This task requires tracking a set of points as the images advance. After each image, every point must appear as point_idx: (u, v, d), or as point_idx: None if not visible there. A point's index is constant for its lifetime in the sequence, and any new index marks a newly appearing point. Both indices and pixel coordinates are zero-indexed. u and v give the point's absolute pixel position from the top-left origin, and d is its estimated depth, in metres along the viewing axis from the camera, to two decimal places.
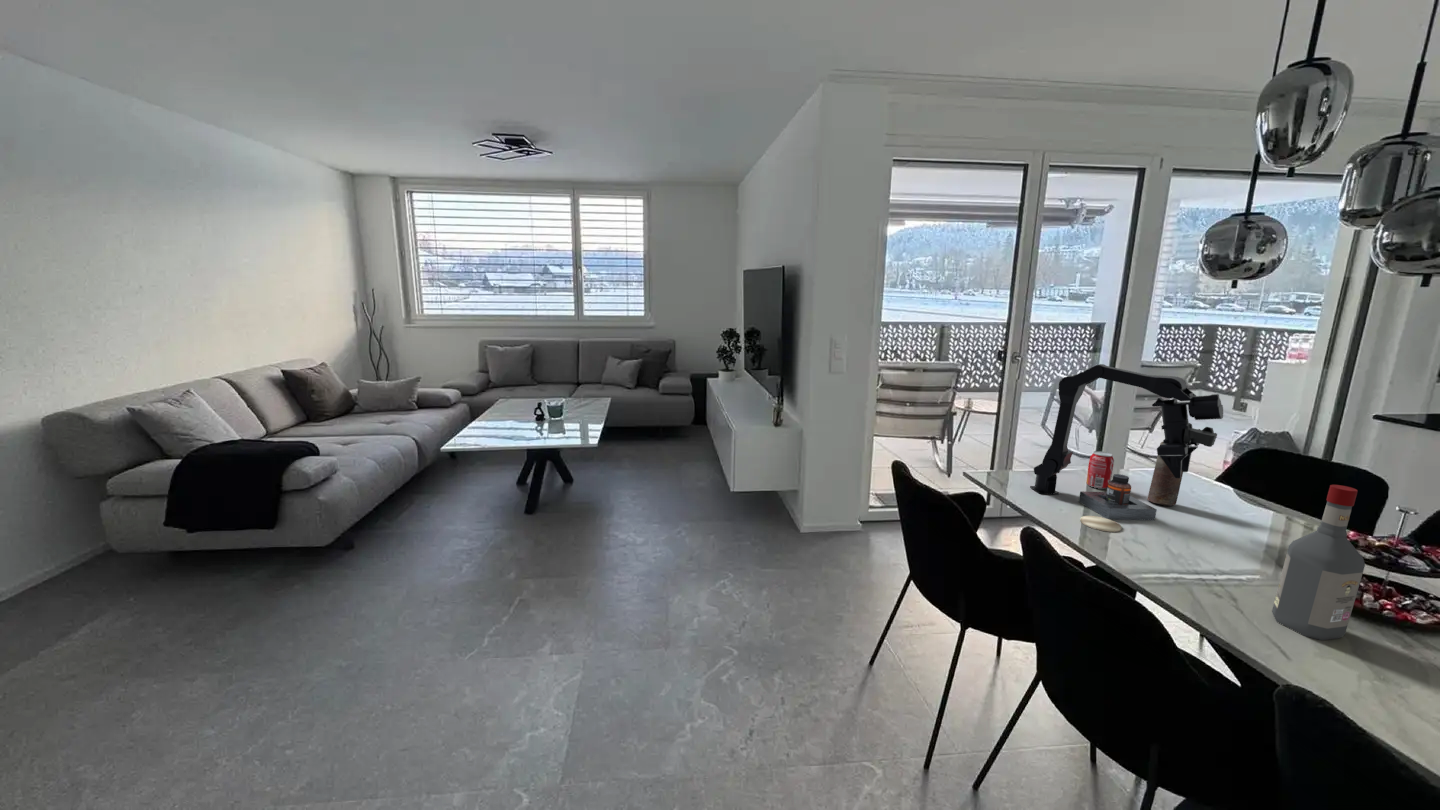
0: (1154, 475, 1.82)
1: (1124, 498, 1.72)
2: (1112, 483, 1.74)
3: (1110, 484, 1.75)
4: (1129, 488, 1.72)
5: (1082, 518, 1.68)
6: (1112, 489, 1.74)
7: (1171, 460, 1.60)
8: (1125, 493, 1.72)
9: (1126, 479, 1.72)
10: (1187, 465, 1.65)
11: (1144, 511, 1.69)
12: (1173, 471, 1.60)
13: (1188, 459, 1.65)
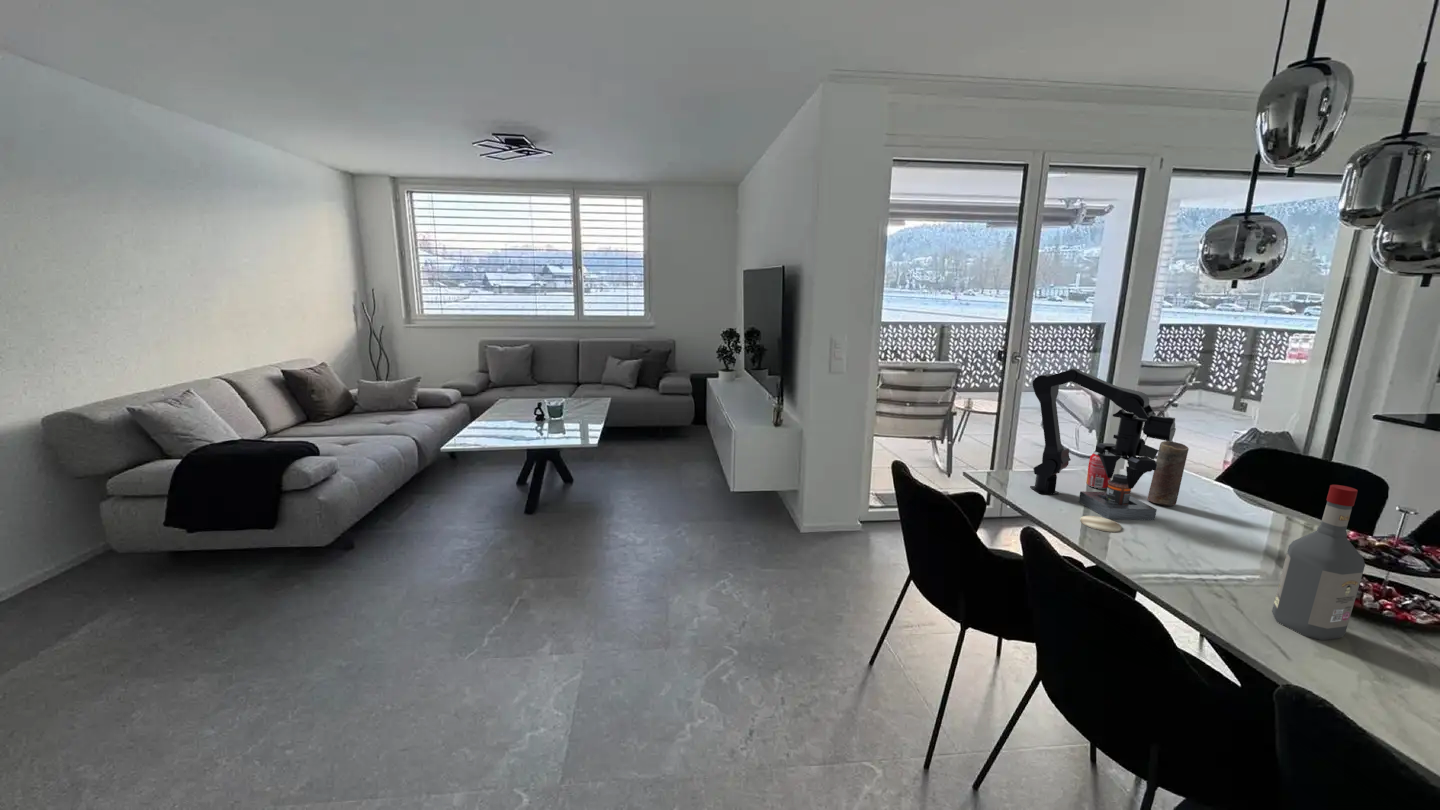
0: (1154, 475, 1.82)
1: (1124, 498, 1.72)
2: (1112, 483, 1.74)
3: (1110, 484, 1.75)
4: (1129, 488, 1.72)
5: (1082, 518, 1.68)
6: (1112, 489, 1.74)
7: (1134, 473, 1.68)
8: (1125, 493, 1.72)
9: (1126, 479, 1.72)
10: (1113, 472, 1.79)
11: (1144, 511, 1.69)
12: (1131, 482, 1.69)
13: (1114, 466, 1.78)
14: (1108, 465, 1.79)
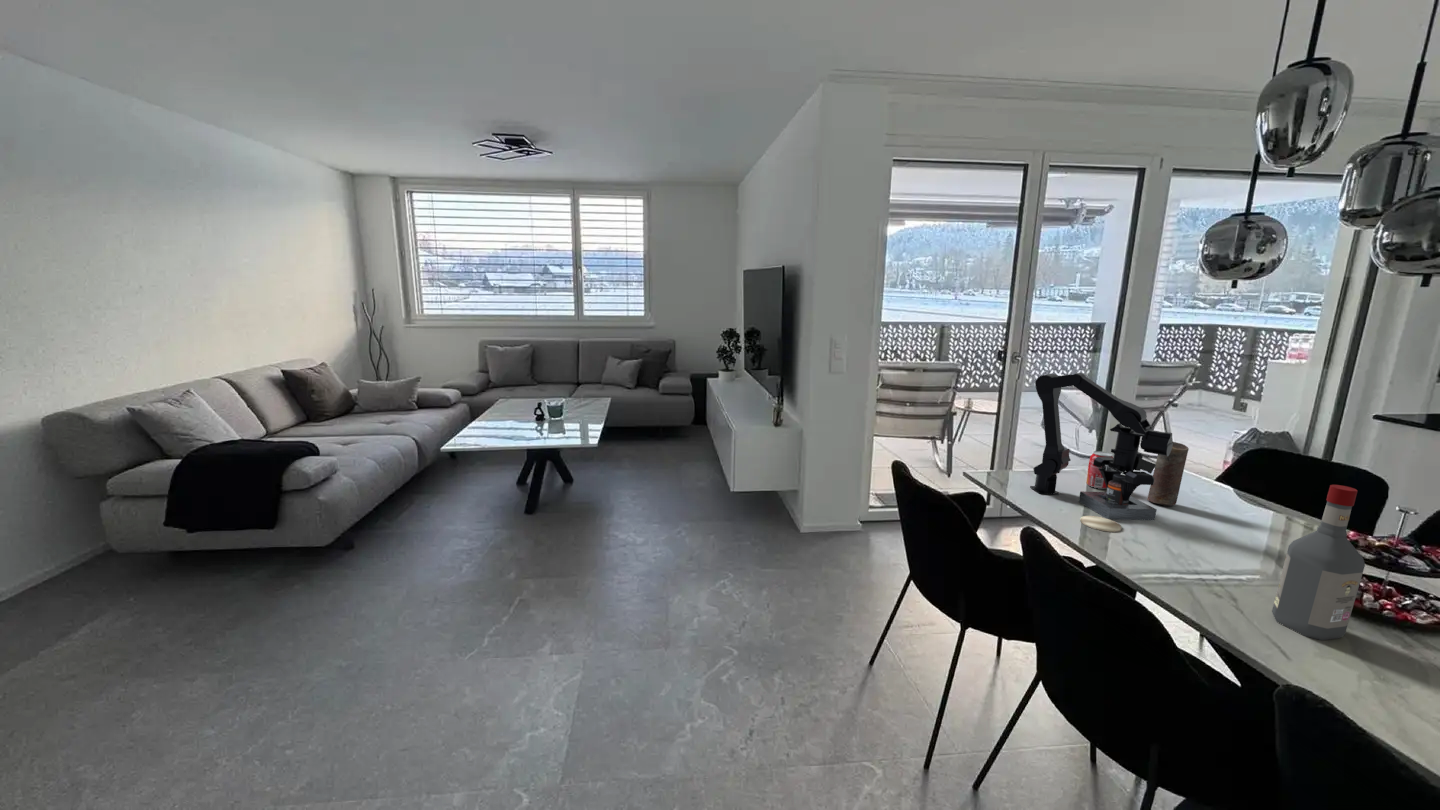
0: (1154, 475, 1.82)
1: None
2: (1112, 483, 1.74)
3: (1110, 484, 1.75)
4: None
5: (1082, 518, 1.68)
6: (1112, 489, 1.74)
7: (1128, 485, 1.70)
8: None
9: None
10: None
11: (1144, 511, 1.69)
12: (1125, 495, 1.71)
13: None
14: None
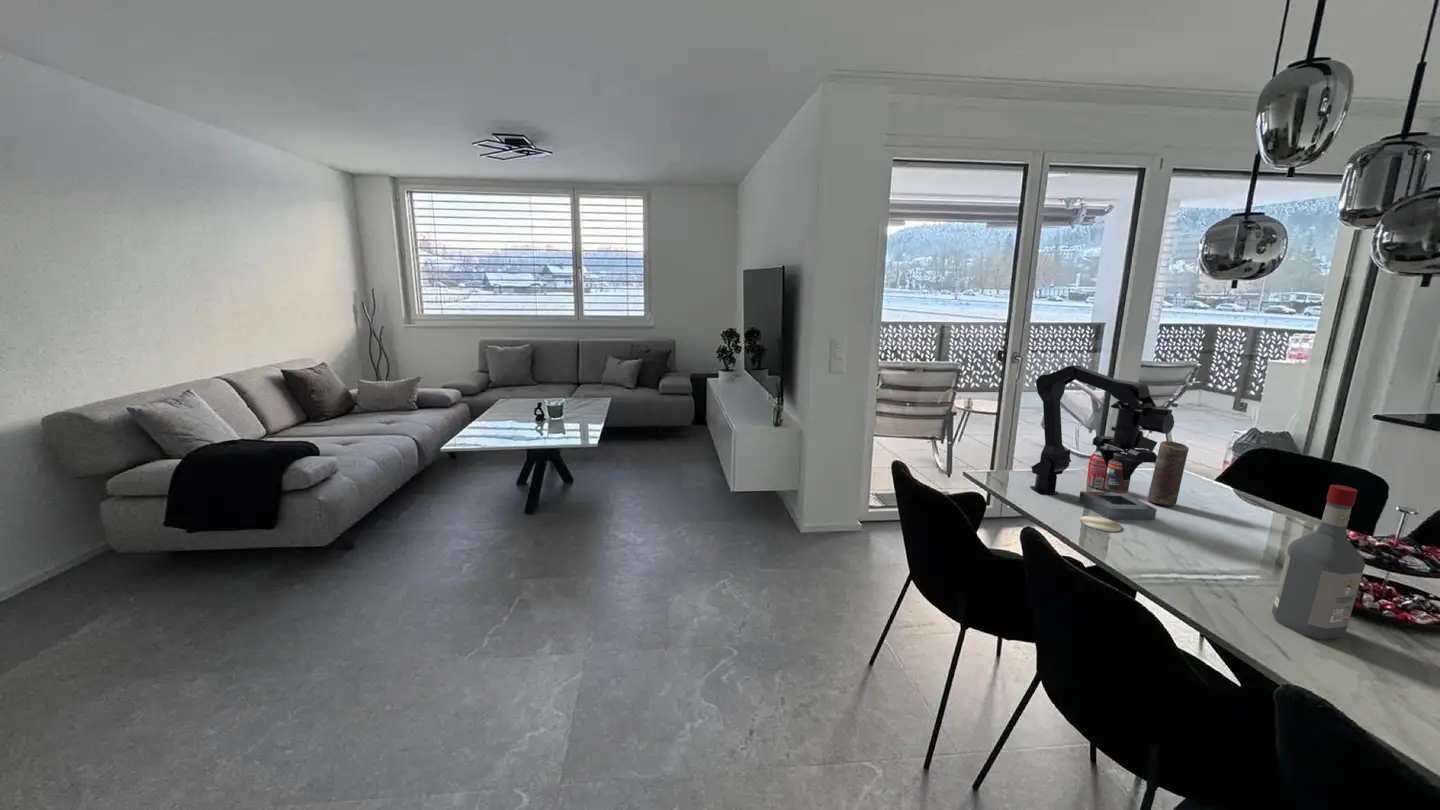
0: (1154, 475, 1.82)
1: None
2: (1113, 462, 1.69)
3: (1111, 463, 1.69)
4: None
5: (1082, 518, 1.68)
6: (1113, 468, 1.68)
7: (1130, 464, 1.65)
8: None
9: None
10: None
11: (1144, 511, 1.69)
12: (1126, 474, 1.66)
13: None
14: (1109, 460, 1.73)
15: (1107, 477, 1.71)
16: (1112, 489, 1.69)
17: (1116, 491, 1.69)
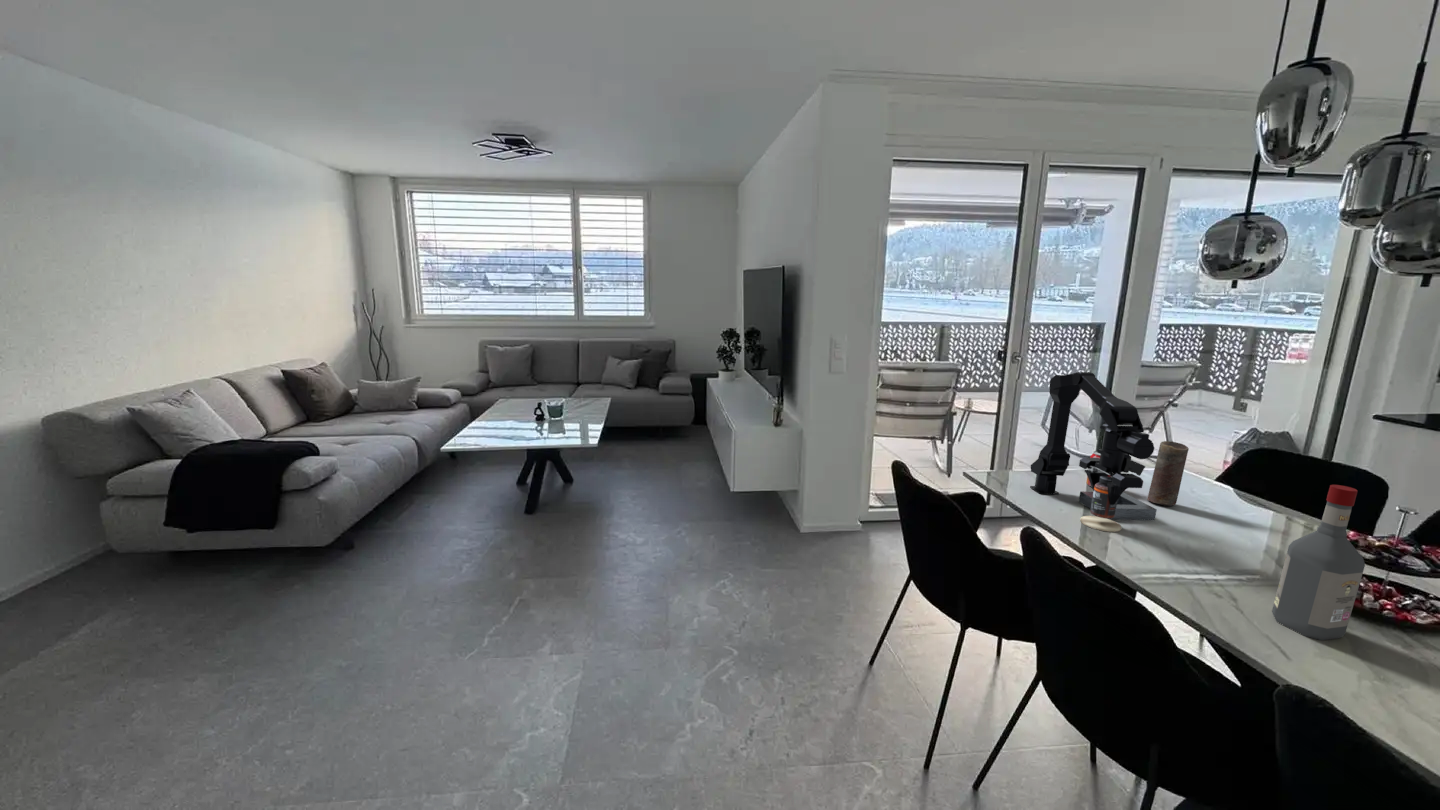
0: (1154, 475, 1.82)
1: None
2: (1098, 486, 1.63)
3: (1096, 487, 1.63)
4: None
5: (1082, 518, 1.68)
6: (1099, 492, 1.62)
7: (1115, 488, 1.59)
8: None
9: None
10: None
11: (1144, 511, 1.69)
12: (1112, 498, 1.60)
13: None
14: (1095, 483, 1.67)
15: (1093, 501, 1.65)
16: (1098, 514, 1.63)
17: (1102, 516, 1.62)
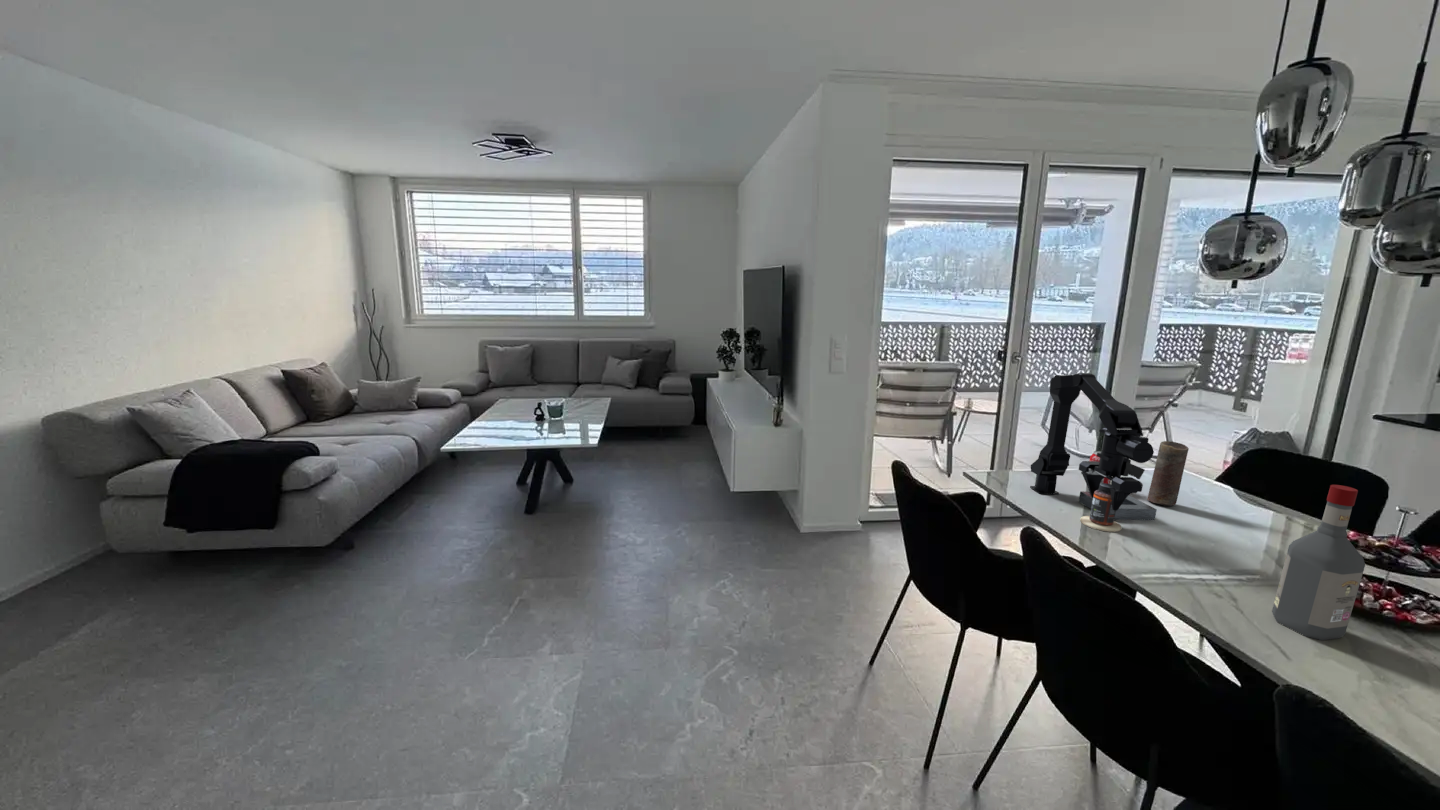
0: (1154, 475, 1.82)
1: (1110, 509, 1.61)
2: (1098, 493, 1.63)
3: (1096, 494, 1.64)
4: None
5: (1082, 518, 1.68)
6: (1098, 499, 1.63)
7: (1118, 494, 1.57)
8: None
9: None
10: None
11: (1144, 511, 1.69)
12: (1115, 504, 1.58)
13: (1098, 486, 1.68)
14: (1092, 485, 1.68)
15: (1092, 508, 1.65)
16: (1097, 521, 1.63)
17: (1101, 523, 1.63)
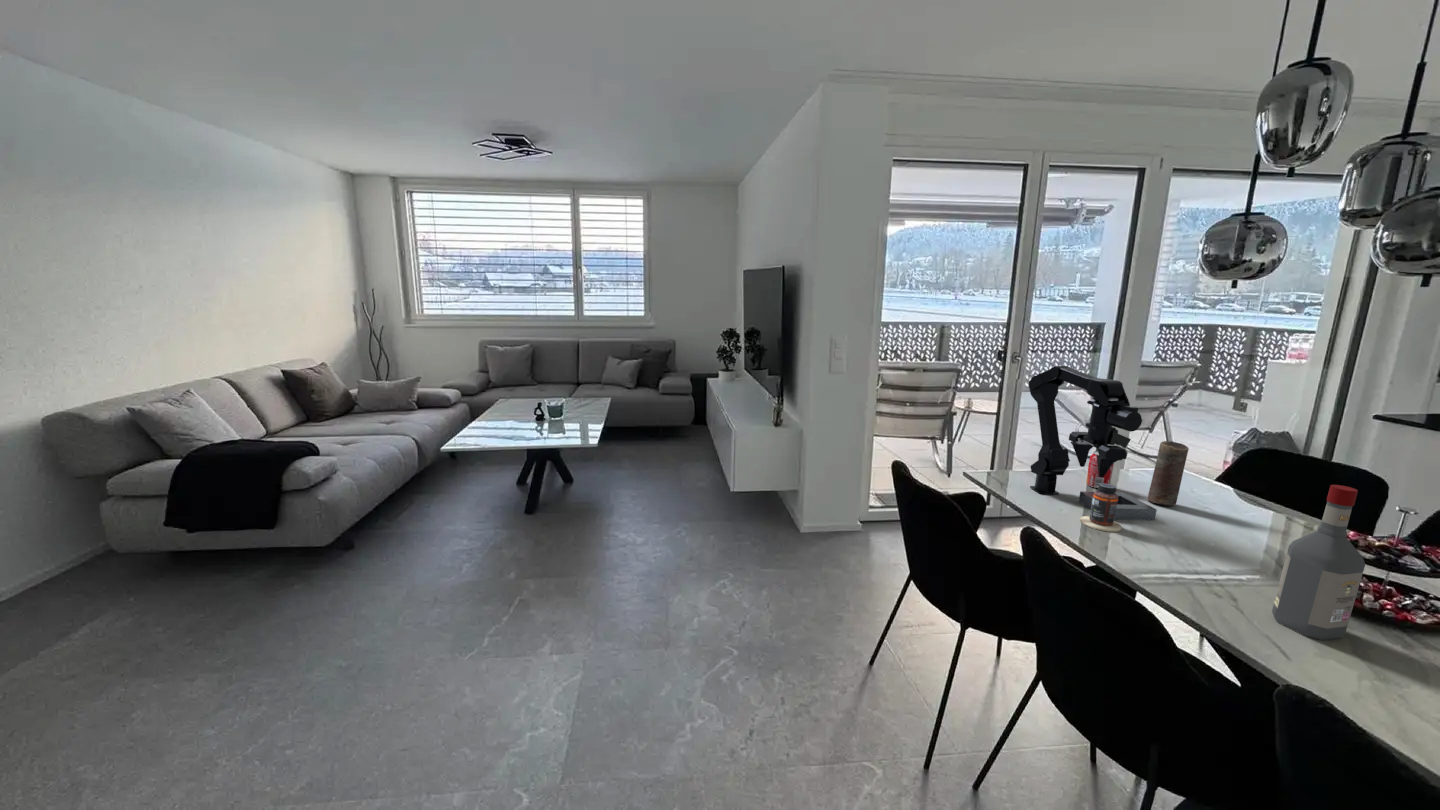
0: (1154, 475, 1.82)
1: (1110, 509, 1.61)
2: (1098, 493, 1.63)
3: (1096, 494, 1.64)
4: (1116, 499, 1.61)
5: (1082, 518, 1.68)
6: (1098, 500, 1.63)
7: (1105, 461, 1.66)
8: (1111, 503, 1.61)
9: (1113, 489, 1.61)
10: (1085, 460, 1.77)
11: (1144, 511, 1.69)
12: (1101, 471, 1.67)
13: (1087, 455, 1.77)
14: (1081, 454, 1.77)
15: (1092, 508, 1.65)
16: (1096, 521, 1.64)
17: (1101, 523, 1.63)
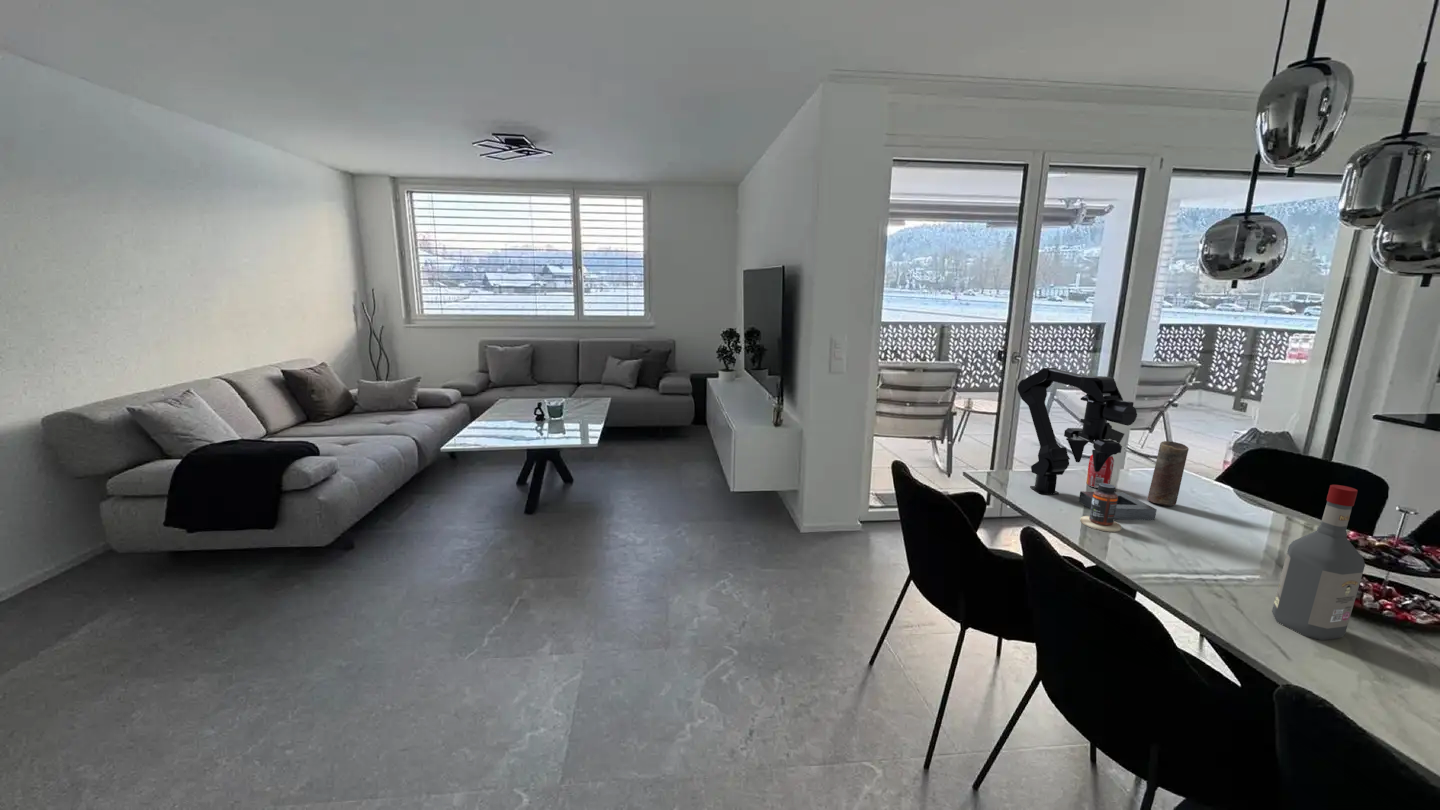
0: (1154, 475, 1.82)
1: (1110, 509, 1.61)
2: (1097, 493, 1.63)
3: (1095, 494, 1.64)
4: (1115, 498, 1.61)
5: (1082, 518, 1.68)
6: (1097, 499, 1.63)
7: (1100, 456, 1.70)
8: (1111, 503, 1.61)
9: (1112, 489, 1.61)
10: (1081, 456, 1.80)
11: (1144, 511, 1.69)
12: (1097, 465, 1.71)
13: (1082, 451, 1.80)
14: (1076, 450, 1.80)
15: (1092, 508, 1.65)
16: (1096, 521, 1.64)
17: (1100, 523, 1.63)
